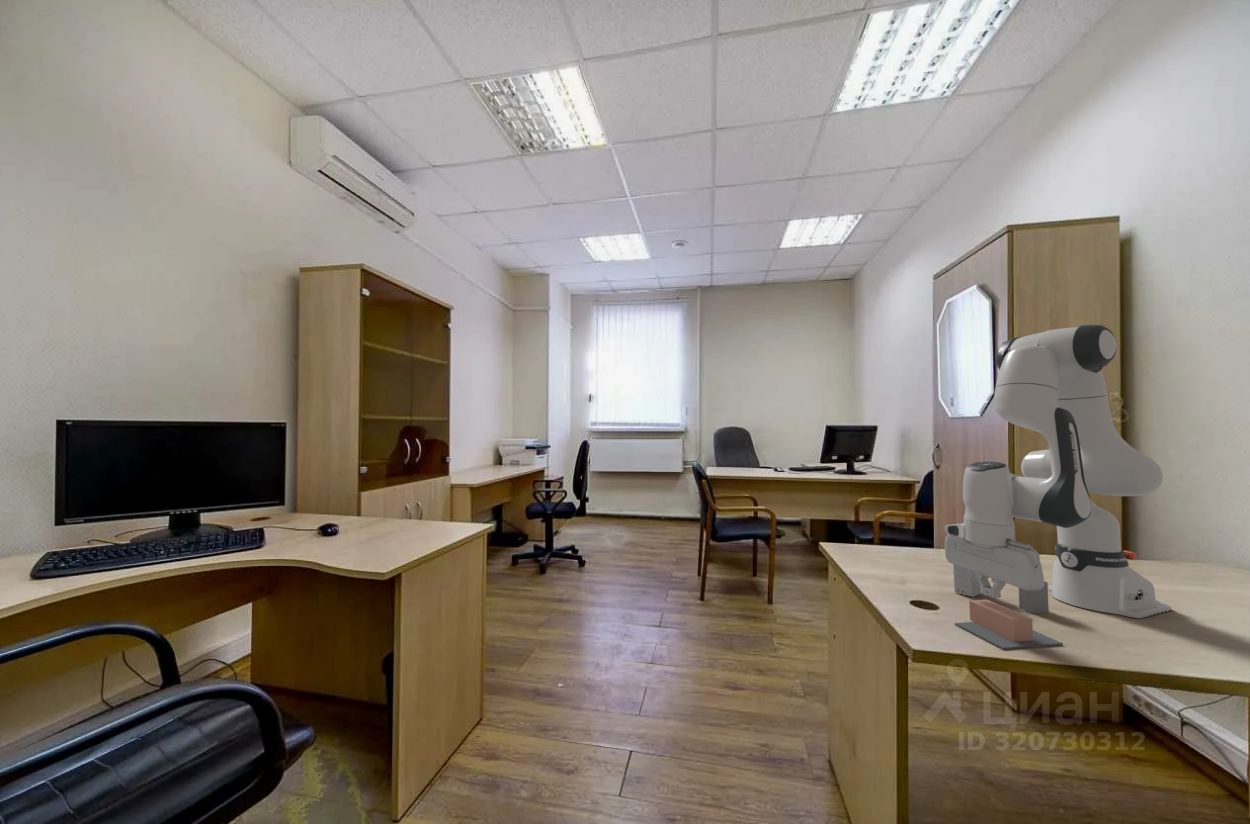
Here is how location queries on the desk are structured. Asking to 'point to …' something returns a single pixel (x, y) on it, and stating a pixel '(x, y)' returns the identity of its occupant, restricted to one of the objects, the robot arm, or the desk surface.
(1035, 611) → the power adapter
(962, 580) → the skincare box
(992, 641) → the mat
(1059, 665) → the desk surface
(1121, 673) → the desk surface
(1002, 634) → the block
